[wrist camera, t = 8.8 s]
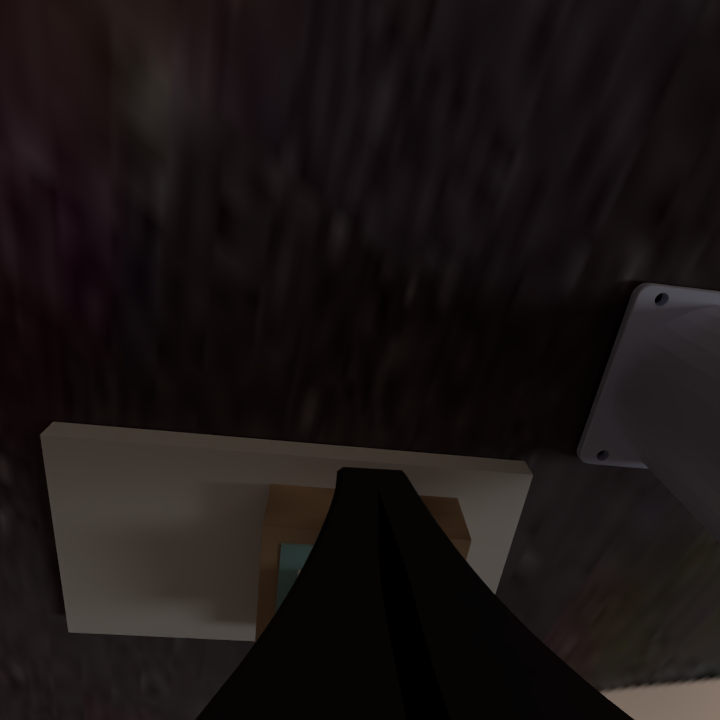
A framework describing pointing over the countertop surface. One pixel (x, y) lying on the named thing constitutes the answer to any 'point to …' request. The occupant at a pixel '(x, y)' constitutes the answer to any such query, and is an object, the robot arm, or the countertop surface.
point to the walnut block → (300, 531)
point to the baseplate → (220, 520)
